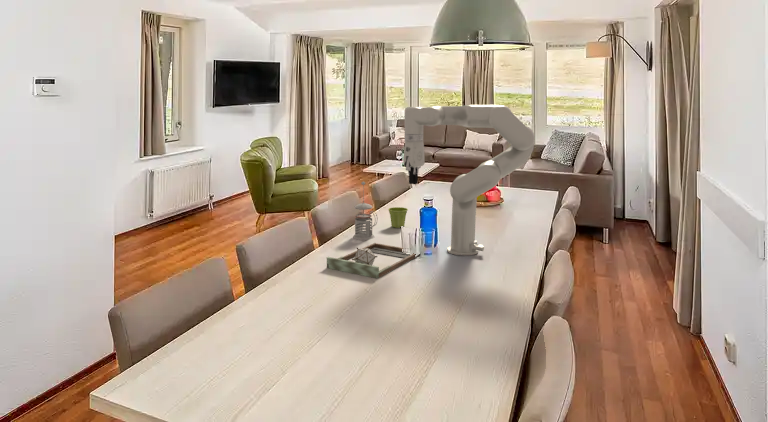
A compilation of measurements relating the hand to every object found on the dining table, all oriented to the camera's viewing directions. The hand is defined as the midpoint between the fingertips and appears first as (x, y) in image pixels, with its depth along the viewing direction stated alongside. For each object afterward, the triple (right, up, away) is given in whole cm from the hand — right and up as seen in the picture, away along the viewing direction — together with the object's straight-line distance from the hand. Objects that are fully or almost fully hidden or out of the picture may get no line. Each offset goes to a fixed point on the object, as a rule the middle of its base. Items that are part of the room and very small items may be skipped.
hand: (413, 183), depth 216 cm
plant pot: (-5, -19, +41) cm, 45 cm away
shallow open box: (-15, -30, -12) cm, 36 cm away
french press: (-20, -23, +22) cm, 38 cm away
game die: (-19, -32, -20) cm, 43 cm away
